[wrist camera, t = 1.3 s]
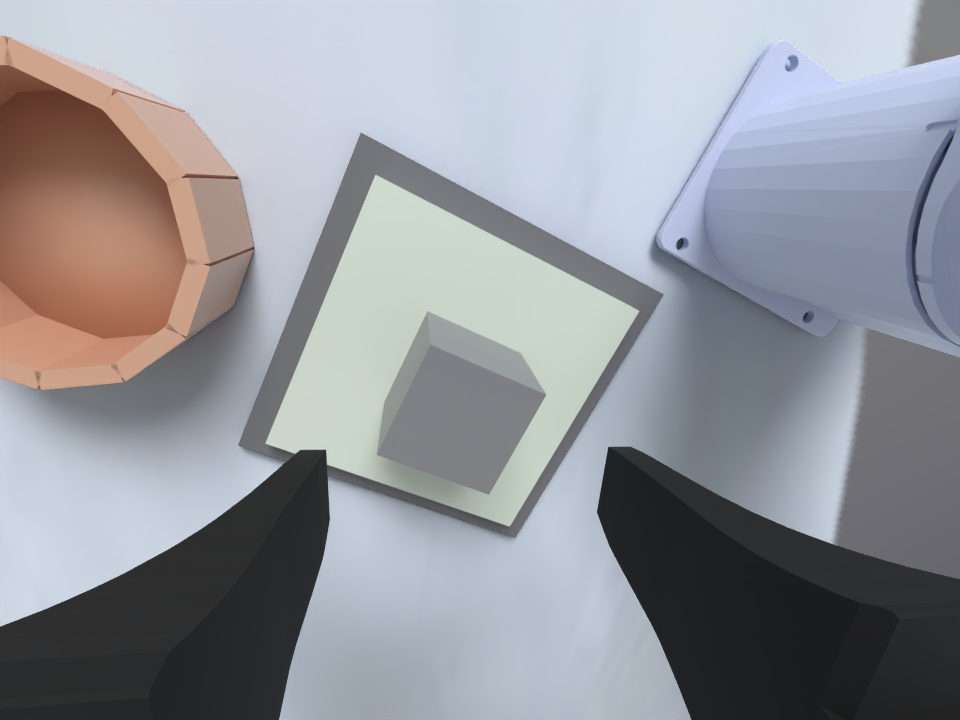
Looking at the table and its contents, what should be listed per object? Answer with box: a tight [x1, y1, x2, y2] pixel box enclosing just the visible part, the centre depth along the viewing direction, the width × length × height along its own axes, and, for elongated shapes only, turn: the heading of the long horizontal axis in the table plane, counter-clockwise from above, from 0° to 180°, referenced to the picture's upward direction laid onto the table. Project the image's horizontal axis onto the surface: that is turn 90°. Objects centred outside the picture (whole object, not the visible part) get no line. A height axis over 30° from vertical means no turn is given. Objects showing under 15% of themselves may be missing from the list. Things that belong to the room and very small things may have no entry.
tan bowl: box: [0, 36, 254, 390], centre depth 15 cm, size 9×9×4 cm
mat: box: [239, 133, 663, 538], centre depth 20 cm, size 13×13×1 cm
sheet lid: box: [265, 175, 639, 527], centre depth 17 cm, size 11×11×5 cm
